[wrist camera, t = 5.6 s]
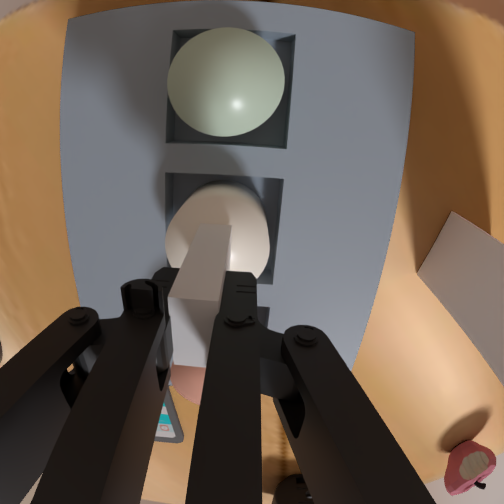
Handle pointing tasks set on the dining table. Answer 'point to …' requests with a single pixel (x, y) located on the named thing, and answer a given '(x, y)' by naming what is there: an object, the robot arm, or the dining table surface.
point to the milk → (470, 284)
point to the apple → (468, 467)
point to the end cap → (292, 491)
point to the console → (239, 155)
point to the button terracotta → (188, 381)
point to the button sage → (225, 81)
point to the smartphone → (169, 423)
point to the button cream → (225, 213)
